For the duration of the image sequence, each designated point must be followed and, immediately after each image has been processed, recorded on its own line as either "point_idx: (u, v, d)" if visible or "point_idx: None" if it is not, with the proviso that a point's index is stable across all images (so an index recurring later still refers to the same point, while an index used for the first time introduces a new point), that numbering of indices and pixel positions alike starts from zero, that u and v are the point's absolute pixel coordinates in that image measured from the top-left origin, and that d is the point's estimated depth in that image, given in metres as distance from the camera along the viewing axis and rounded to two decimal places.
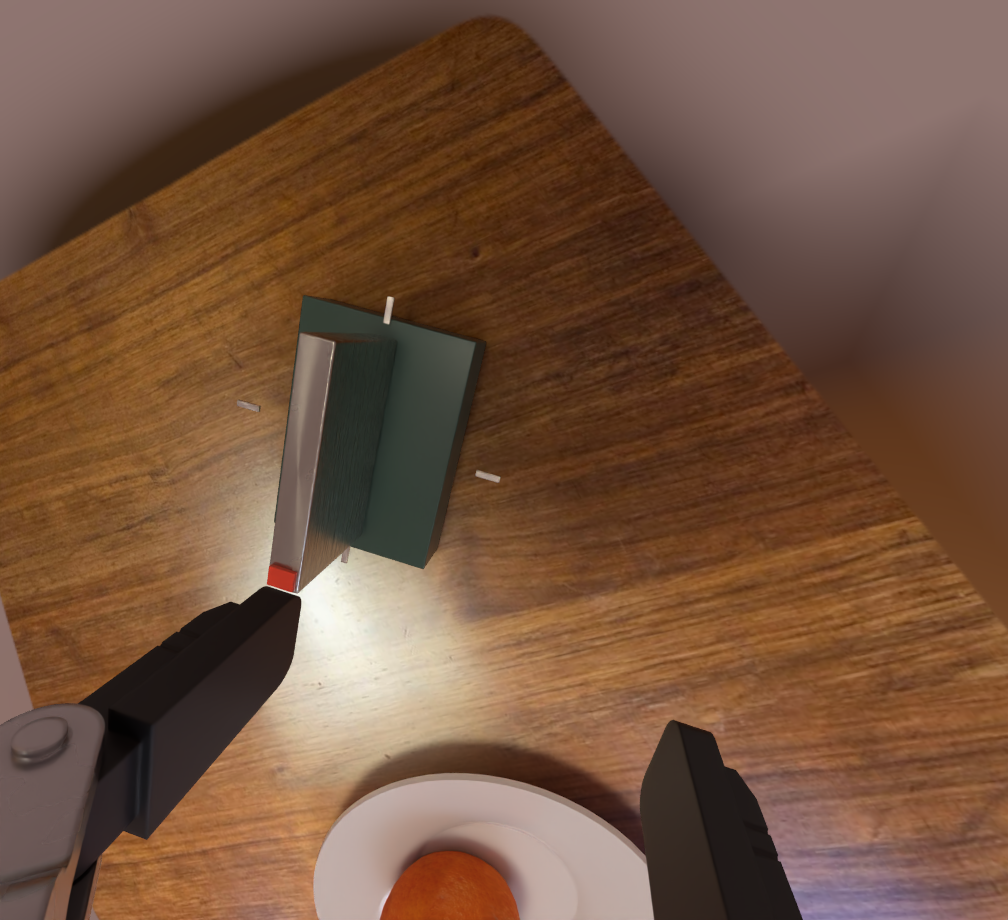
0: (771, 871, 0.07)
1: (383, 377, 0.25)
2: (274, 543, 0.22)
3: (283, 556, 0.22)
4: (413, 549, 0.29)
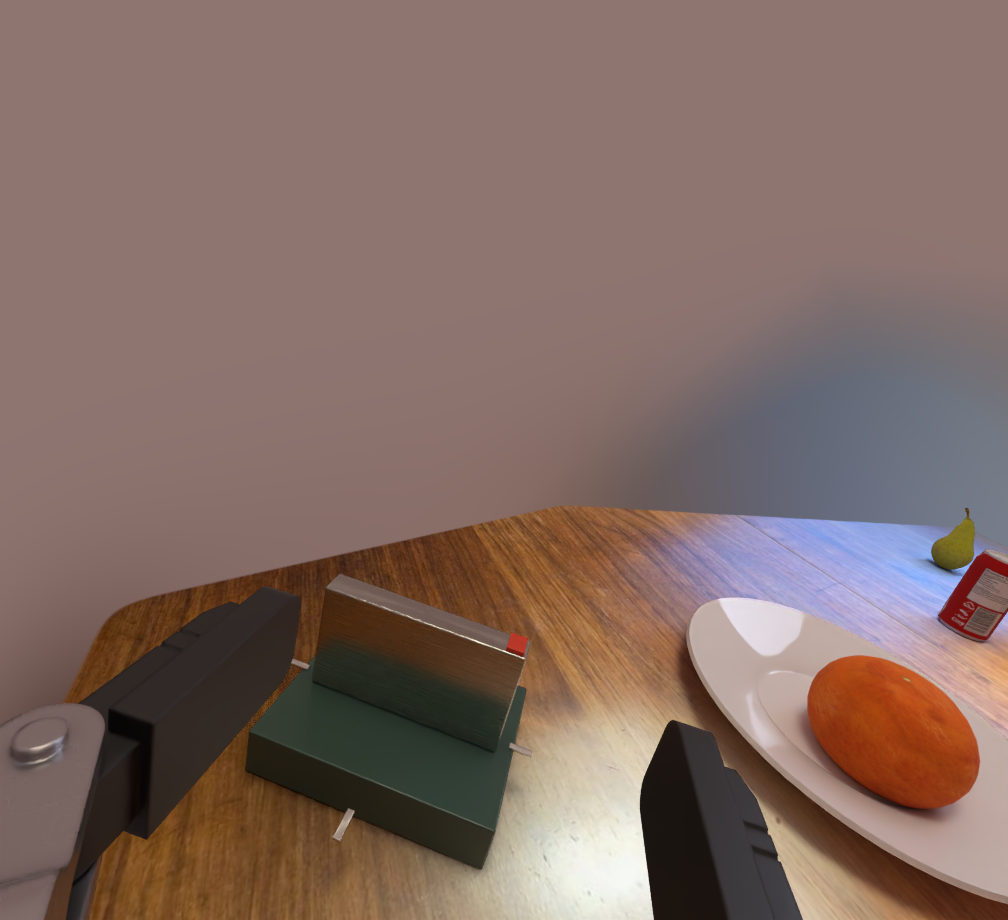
0: (771, 871, 0.07)
1: None
2: (487, 643, 0.26)
3: (498, 641, 0.27)
4: None
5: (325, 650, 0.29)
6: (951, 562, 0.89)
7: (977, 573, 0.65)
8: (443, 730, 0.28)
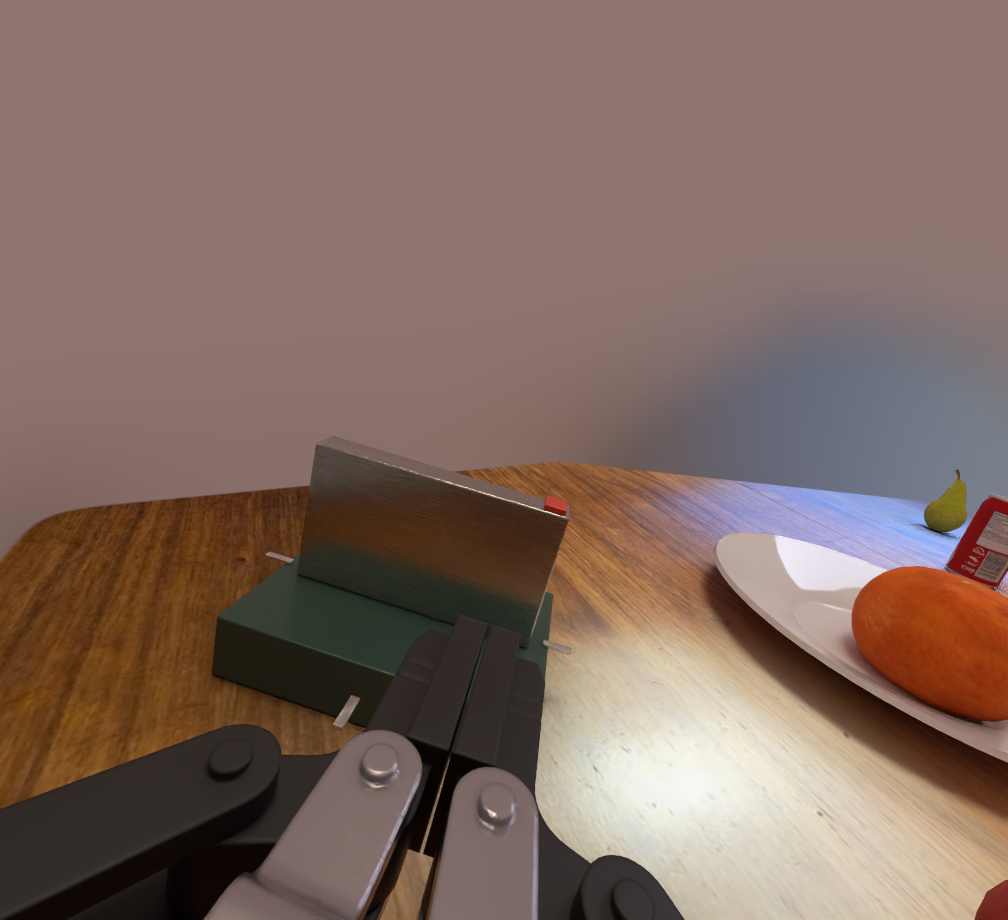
0: (528, 727, 0.09)
1: None
2: (520, 502, 0.21)
3: (532, 502, 0.22)
4: None
5: (315, 530, 0.23)
6: (945, 523, 0.89)
7: (985, 517, 0.63)
8: None
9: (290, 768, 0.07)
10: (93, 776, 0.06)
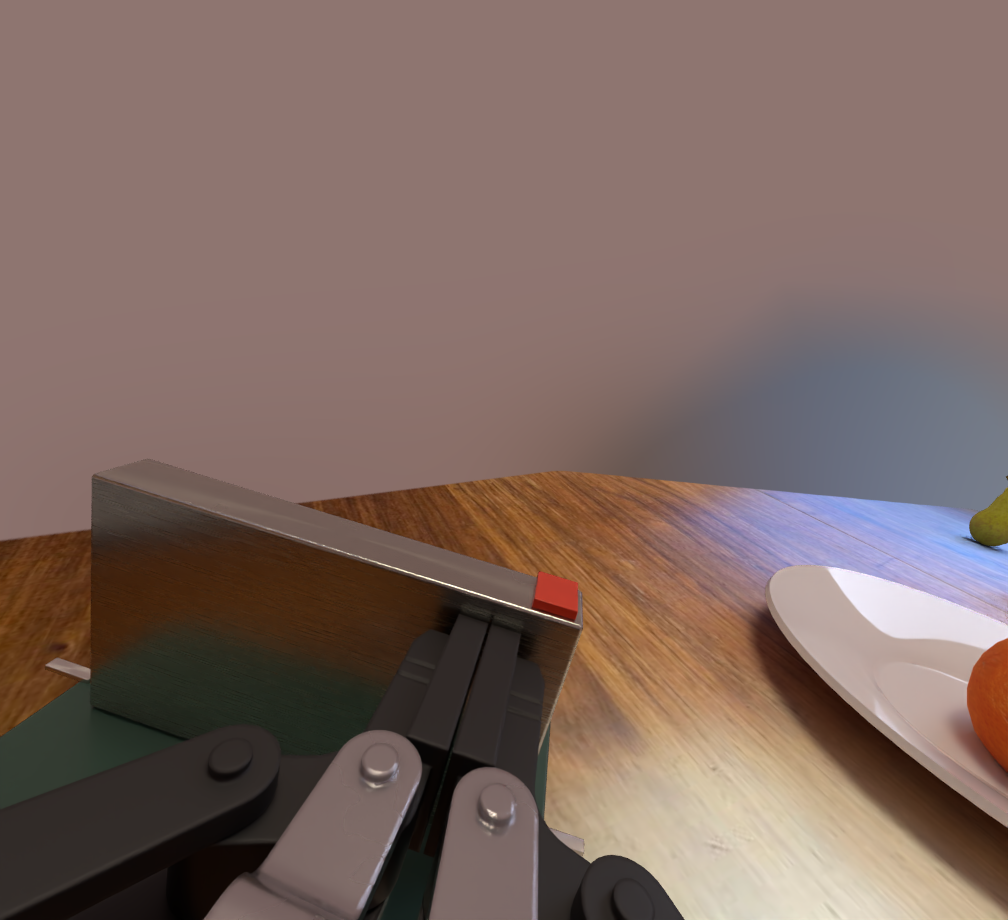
0: (528, 727, 0.09)
1: None
2: (485, 593, 0.11)
3: (511, 588, 0.11)
4: None
5: (110, 634, 0.12)
6: (995, 537, 0.78)
7: None
8: None
9: (290, 768, 0.07)
10: (93, 775, 0.06)
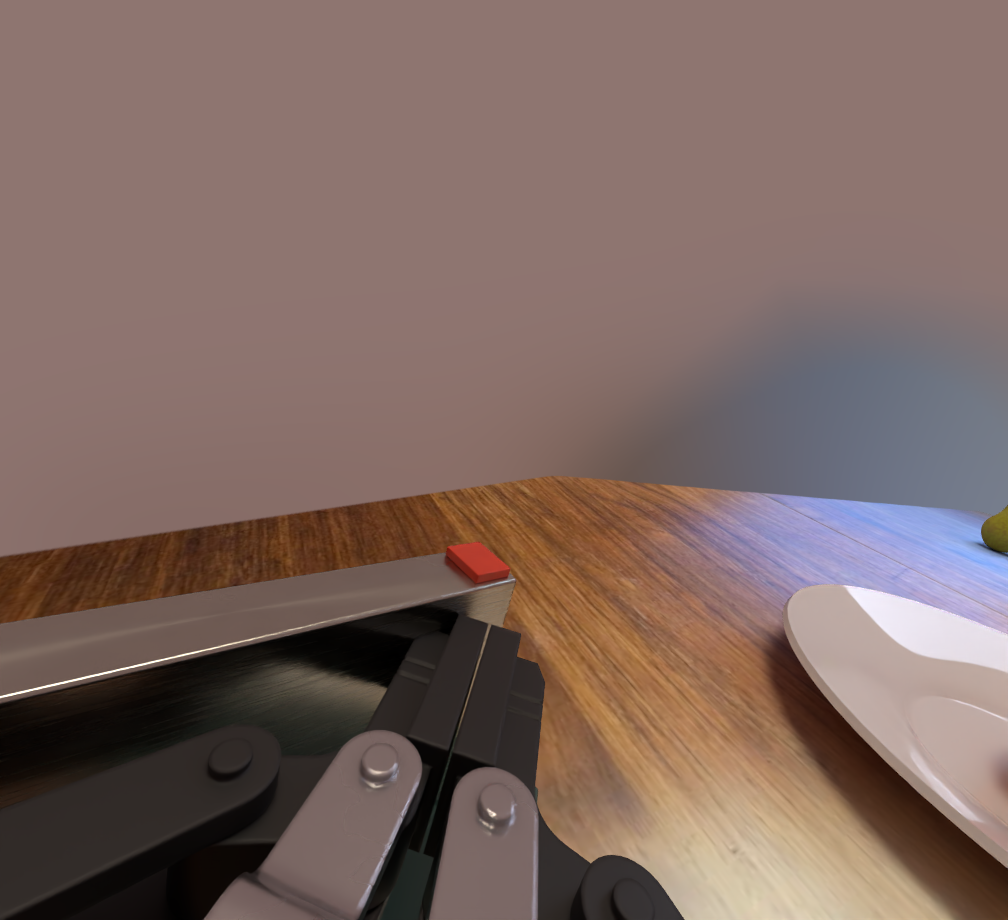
0: (528, 727, 0.09)
1: None
2: (436, 593, 0.10)
3: (443, 576, 0.11)
4: None
5: None
6: None
7: None
8: None
9: (290, 768, 0.07)
10: (92, 776, 0.06)
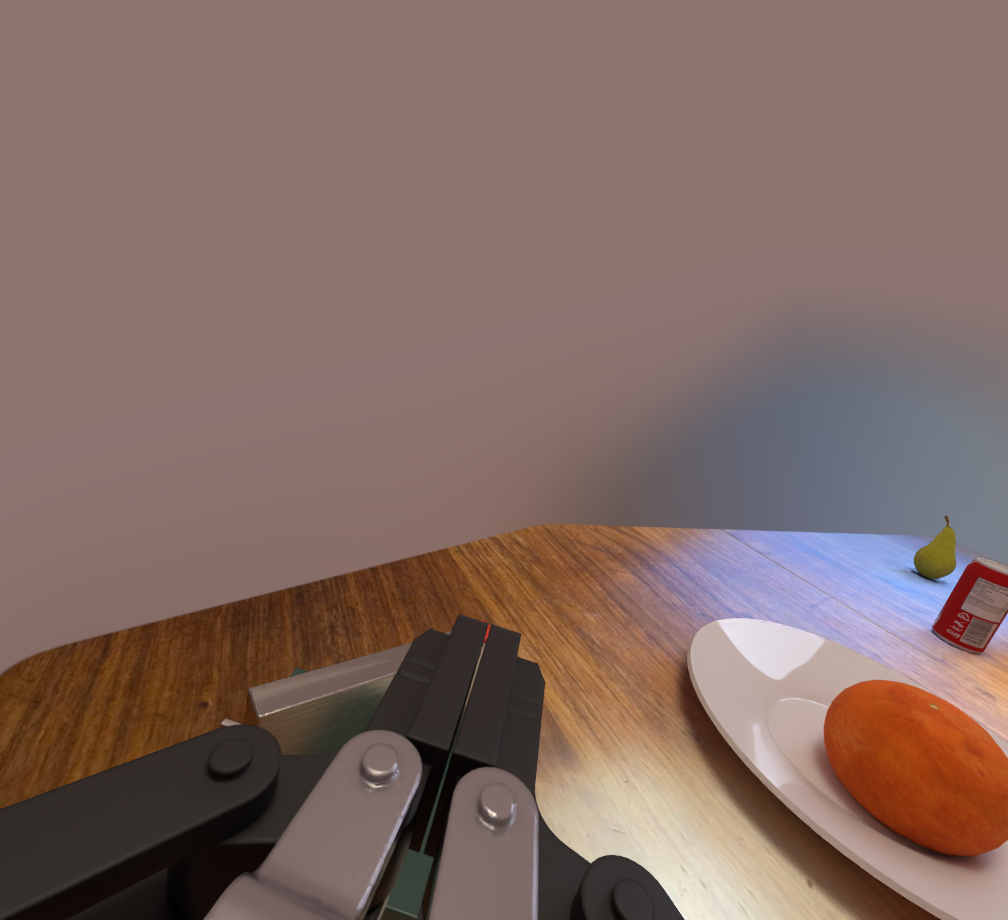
0: (528, 727, 0.09)
1: None
2: None
3: None
4: None
5: None
6: (935, 571, 0.88)
7: (969, 583, 0.63)
8: None
9: (290, 767, 0.07)
10: (92, 775, 0.06)
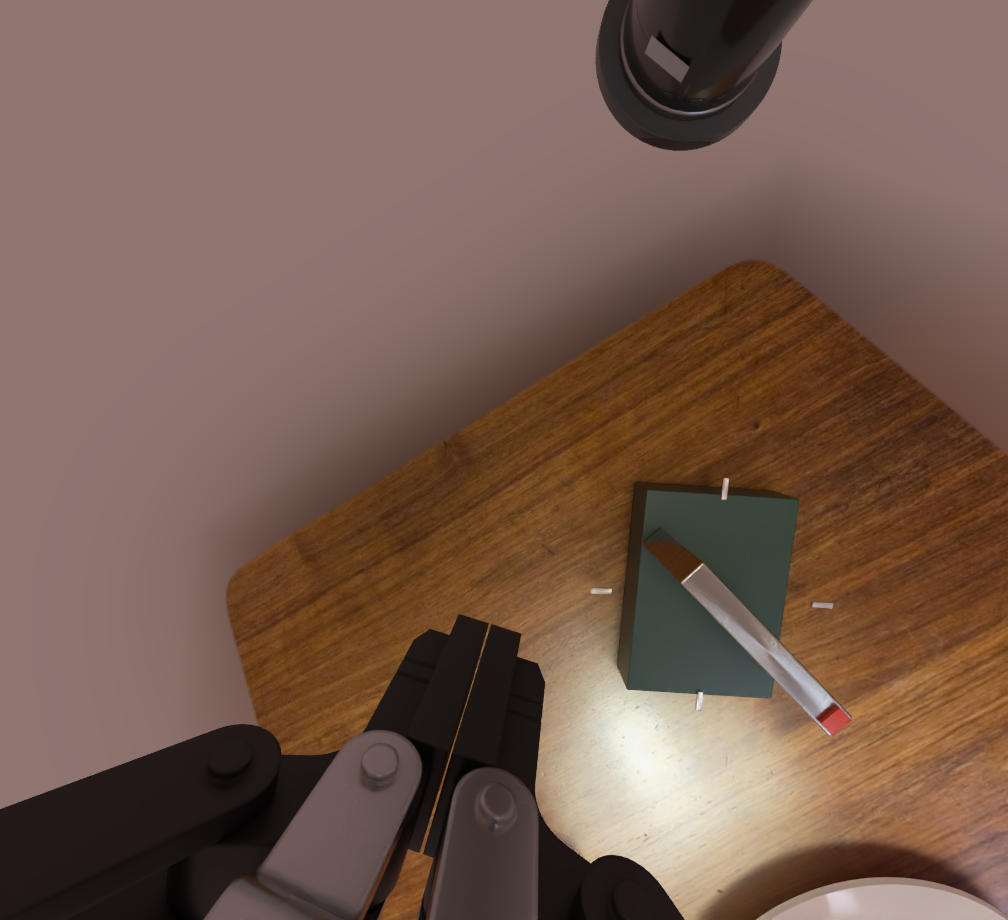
0: (528, 727, 0.09)
1: None
2: (804, 707, 0.25)
3: (818, 707, 0.25)
4: (760, 682, 0.33)
5: None
6: None
7: None
8: None
9: (290, 769, 0.07)
10: (93, 775, 0.06)
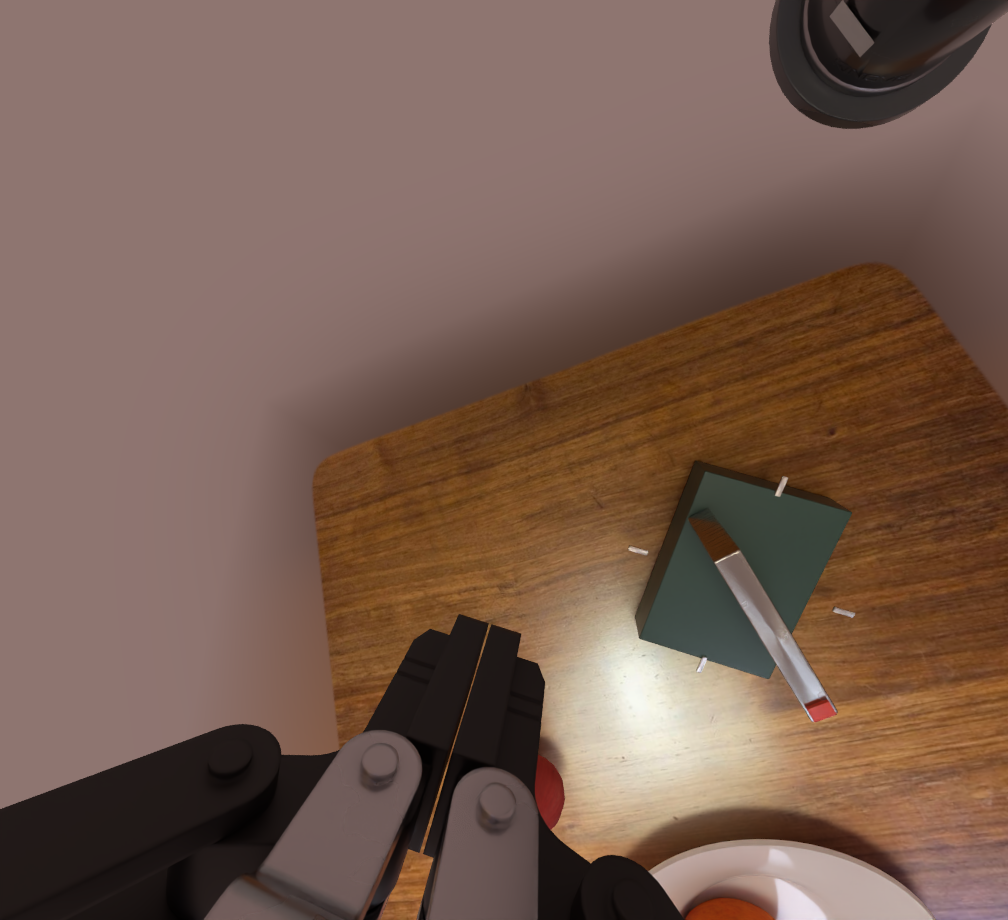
0: (528, 727, 0.09)
1: None
2: (796, 693, 0.28)
3: (809, 696, 0.28)
4: (763, 664, 0.36)
5: None
6: None
7: None
8: None
9: (290, 769, 0.07)
10: (92, 776, 0.06)
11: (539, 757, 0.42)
